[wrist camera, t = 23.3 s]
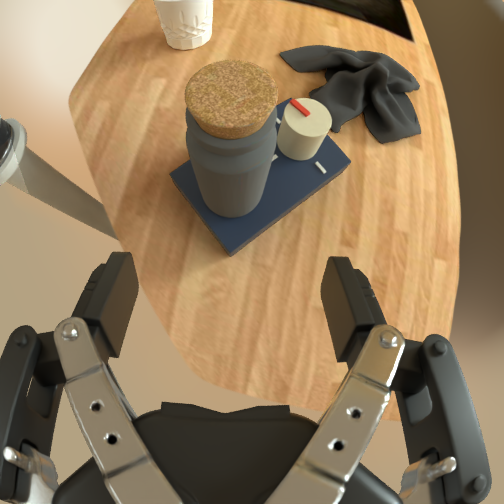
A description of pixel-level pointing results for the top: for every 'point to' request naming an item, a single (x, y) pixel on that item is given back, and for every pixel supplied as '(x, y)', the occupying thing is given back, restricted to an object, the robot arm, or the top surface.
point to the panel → (266, 191)
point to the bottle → (231, 133)
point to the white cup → (185, 22)
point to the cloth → (361, 89)
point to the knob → (303, 128)
